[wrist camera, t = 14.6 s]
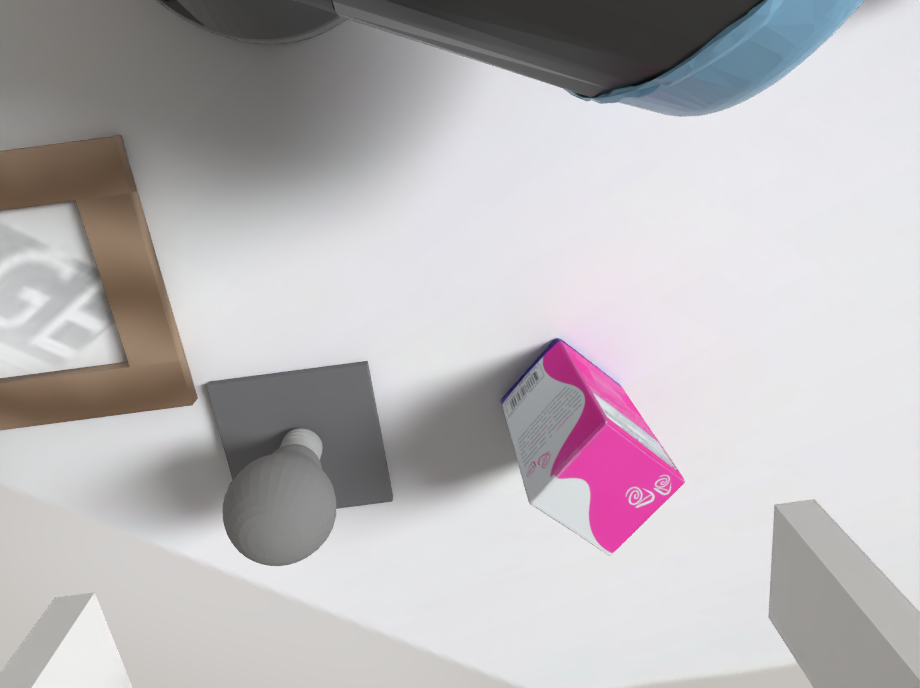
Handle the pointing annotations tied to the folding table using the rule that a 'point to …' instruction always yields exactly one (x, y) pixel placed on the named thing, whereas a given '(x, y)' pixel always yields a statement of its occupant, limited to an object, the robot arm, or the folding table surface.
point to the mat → (308, 424)
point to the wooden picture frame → (125, 282)
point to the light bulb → (281, 503)
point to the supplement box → (586, 449)
